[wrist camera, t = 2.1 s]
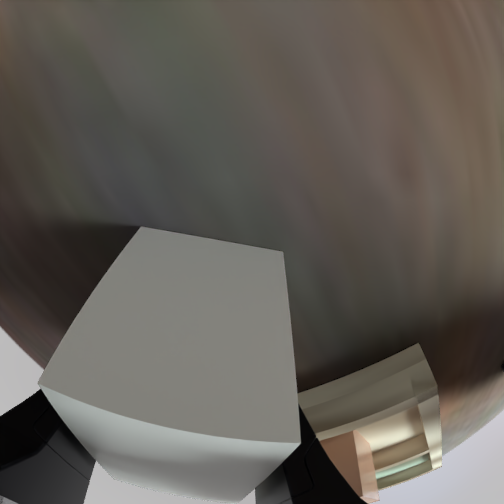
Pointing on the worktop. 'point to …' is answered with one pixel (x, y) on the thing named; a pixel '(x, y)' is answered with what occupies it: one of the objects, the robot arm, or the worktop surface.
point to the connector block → (182, 367)
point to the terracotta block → (354, 463)
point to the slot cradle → (384, 414)
